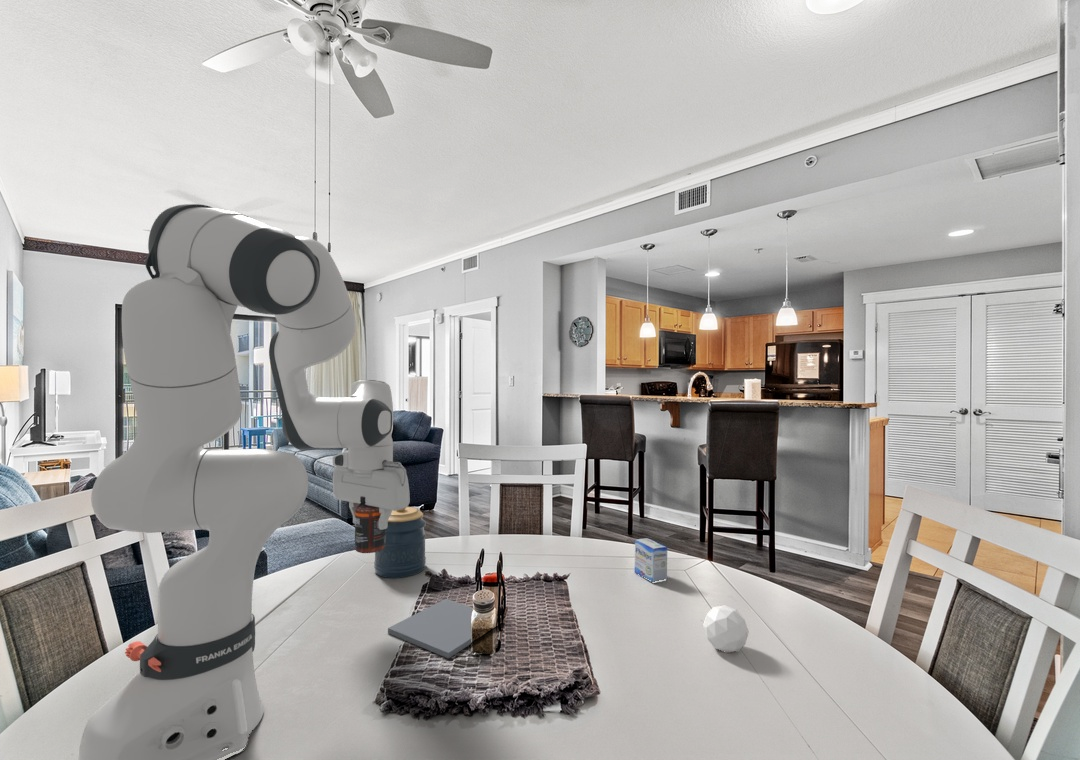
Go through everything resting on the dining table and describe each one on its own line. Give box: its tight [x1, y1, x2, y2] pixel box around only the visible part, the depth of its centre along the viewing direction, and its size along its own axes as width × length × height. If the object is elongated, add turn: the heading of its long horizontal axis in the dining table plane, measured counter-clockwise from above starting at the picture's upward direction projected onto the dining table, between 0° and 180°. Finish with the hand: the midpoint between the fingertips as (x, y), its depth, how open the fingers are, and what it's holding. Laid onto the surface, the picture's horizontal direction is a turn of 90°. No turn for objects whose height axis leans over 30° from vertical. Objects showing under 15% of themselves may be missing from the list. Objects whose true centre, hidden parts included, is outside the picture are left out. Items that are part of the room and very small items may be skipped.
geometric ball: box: [702, 604, 749, 653], centre depth 93 cm, size 8×8×8 cm
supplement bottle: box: [354, 496, 385, 554], centre depth 103 cm, size 6×6×11 cm
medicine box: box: [633, 537, 668, 582], centre depth 127 cm, size 8×4×9 cm, turn 25°
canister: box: [373, 506, 427, 579], centre depth 131 cm, size 13×13×18 cm
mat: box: [387, 598, 472, 659], centre depth 100 cm, size 16×16×1 cm
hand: (369, 526), depth 103 cm, fingers closed on supplement bottle, 6 cm apart
